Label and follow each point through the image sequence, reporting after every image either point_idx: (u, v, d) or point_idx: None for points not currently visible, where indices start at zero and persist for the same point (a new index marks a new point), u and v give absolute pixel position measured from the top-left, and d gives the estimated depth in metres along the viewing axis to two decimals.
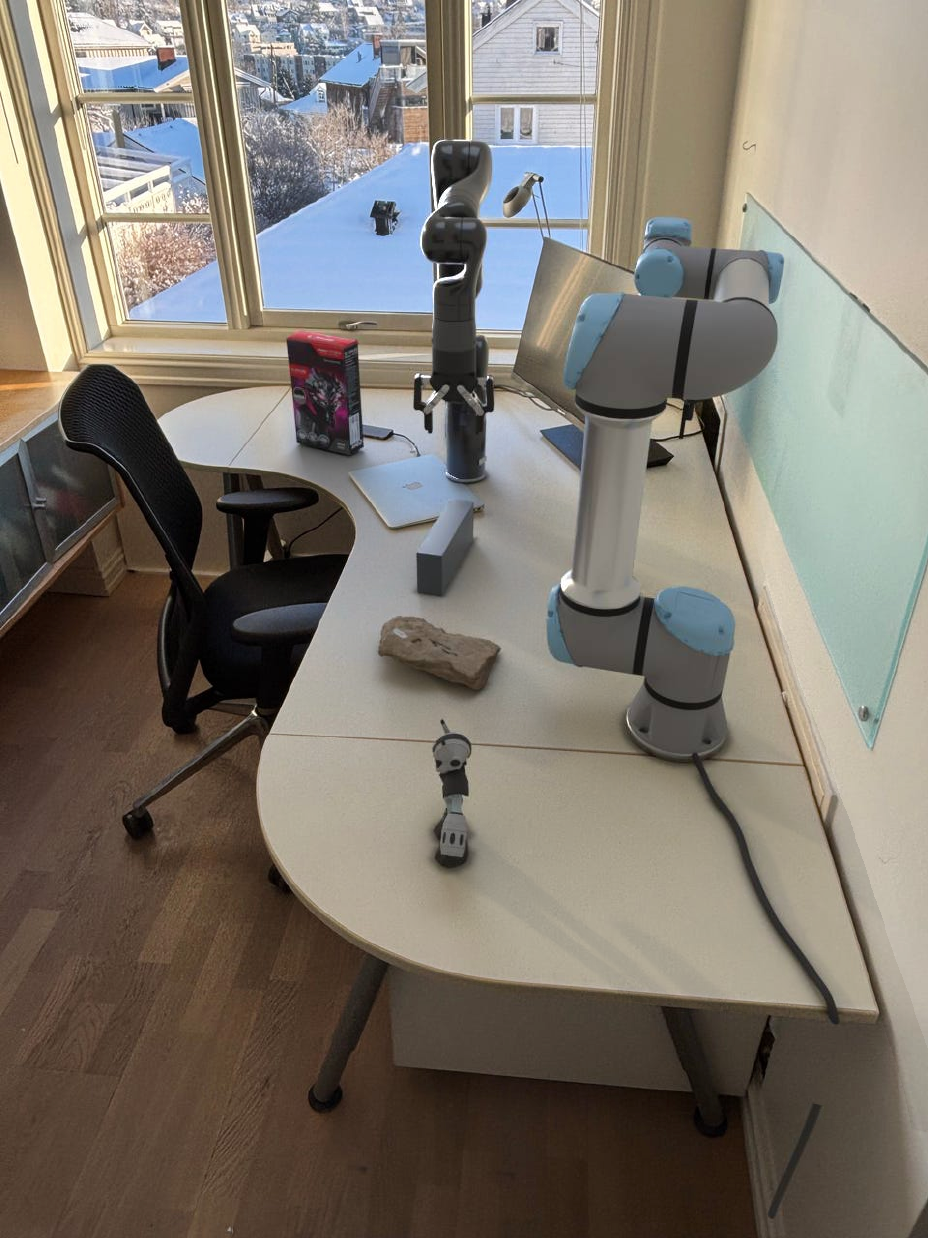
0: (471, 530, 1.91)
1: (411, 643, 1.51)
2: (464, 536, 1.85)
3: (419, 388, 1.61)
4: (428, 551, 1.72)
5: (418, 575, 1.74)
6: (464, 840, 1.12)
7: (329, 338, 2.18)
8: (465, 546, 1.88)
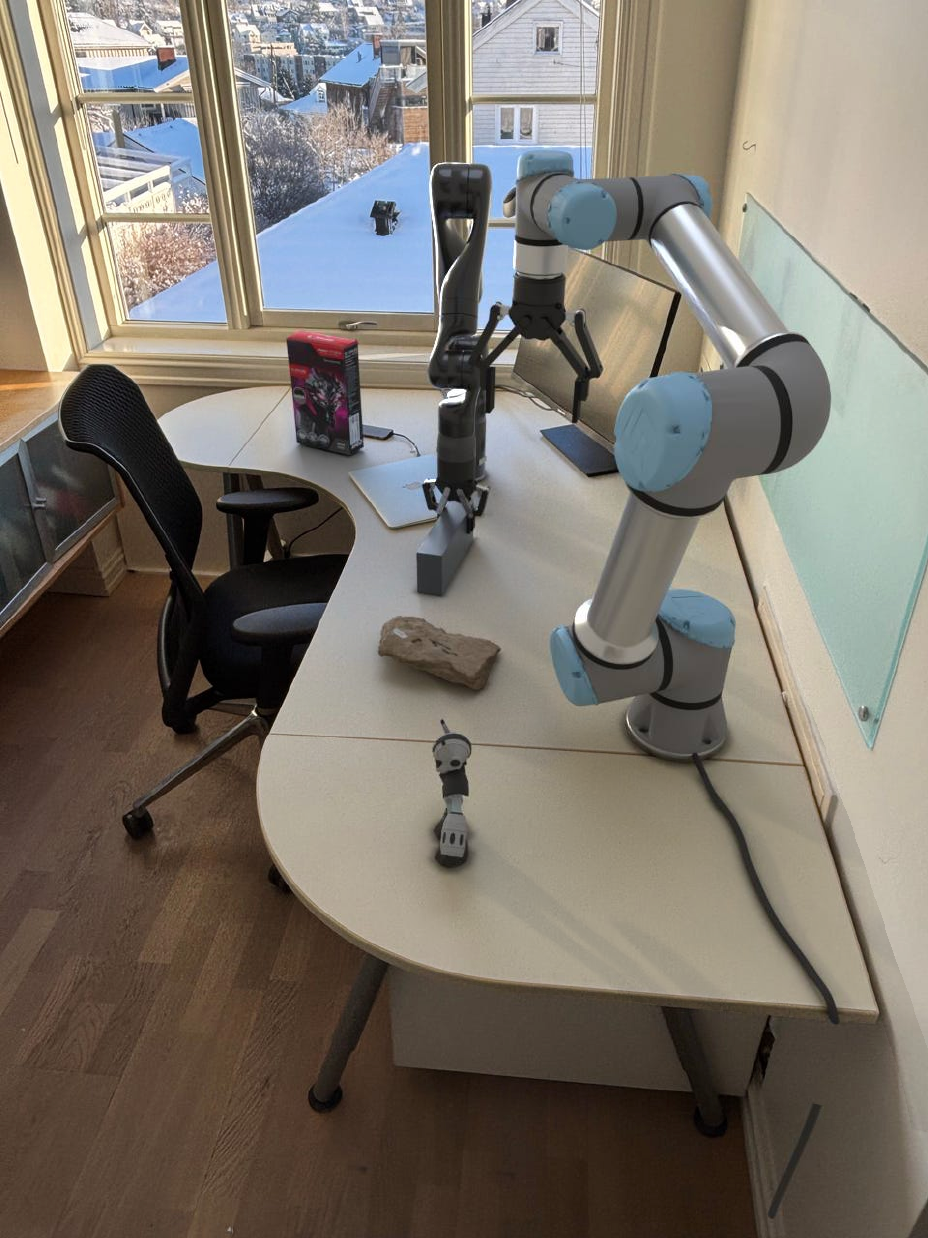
0: None
1: (411, 643, 1.51)
2: (464, 536, 1.85)
3: (428, 491, 1.84)
4: (428, 551, 1.72)
5: (418, 575, 1.74)
6: (464, 840, 1.12)
7: (329, 338, 2.18)
8: (465, 546, 1.88)
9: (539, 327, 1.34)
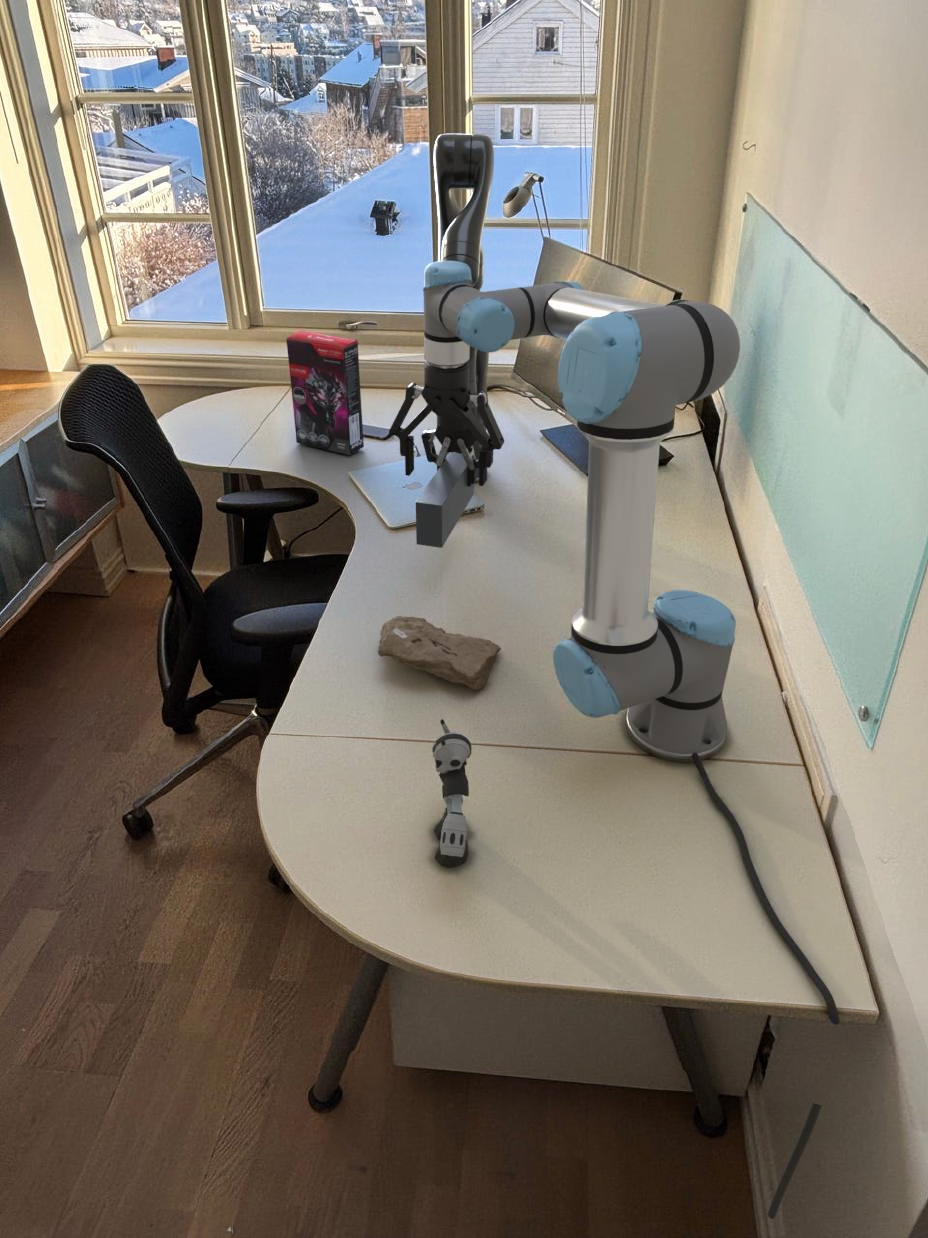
0: (472, 484, 1.85)
1: (411, 643, 1.51)
2: (465, 489, 1.80)
3: (427, 442, 1.78)
4: (428, 501, 1.66)
5: (417, 526, 1.68)
6: (464, 840, 1.12)
7: (329, 338, 2.18)
8: (466, 499, 1.82)
9: (448, 406, 1.56)
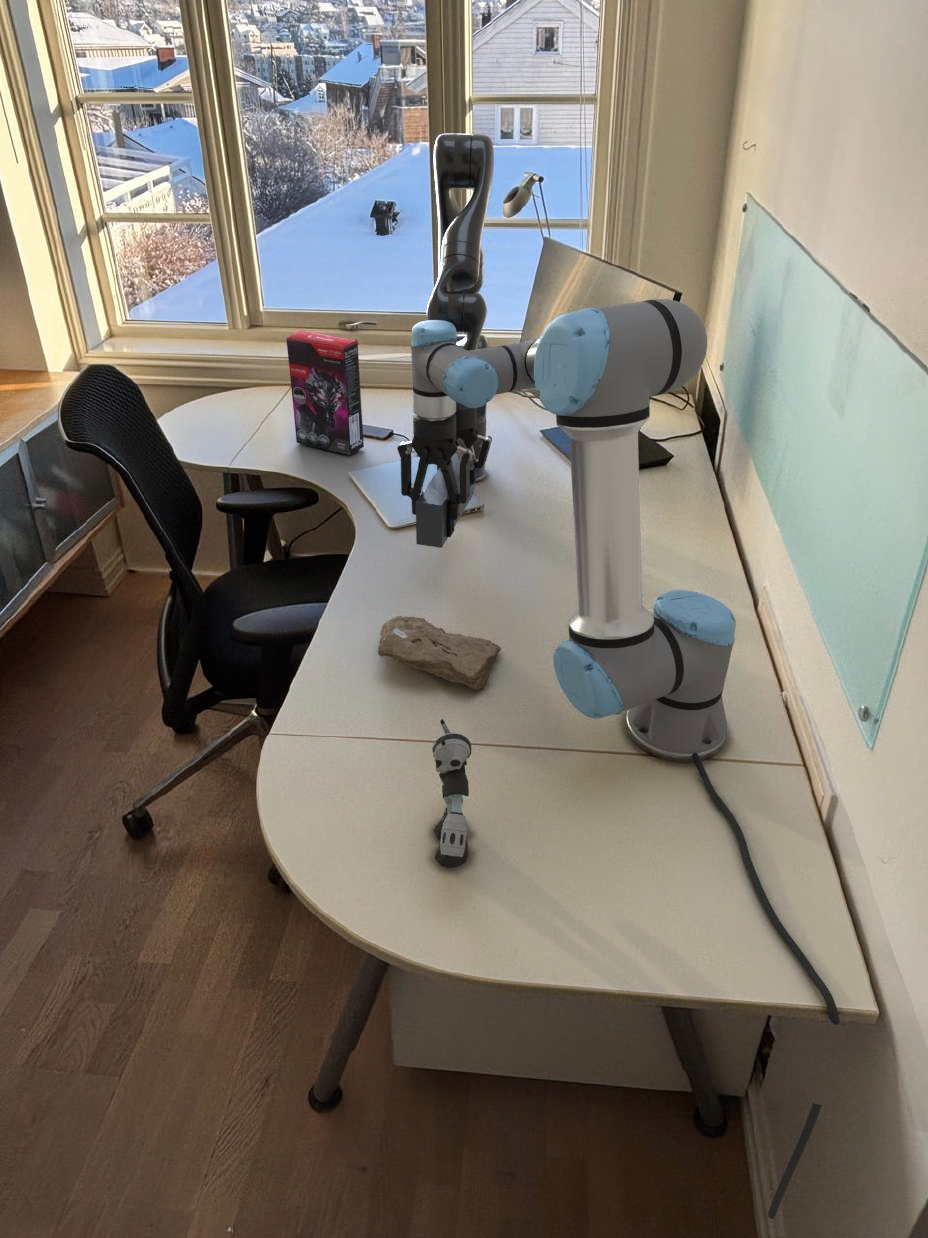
0: (472, 484, 1.85)
1: (411, 643, 1.51)
2: None
3: None
4: (428, 500, 1.66)
5: (417, 526, 1.68)
6: (464, 840, 1.12)
7: (329, 338, 2.18)
8: None
9: None
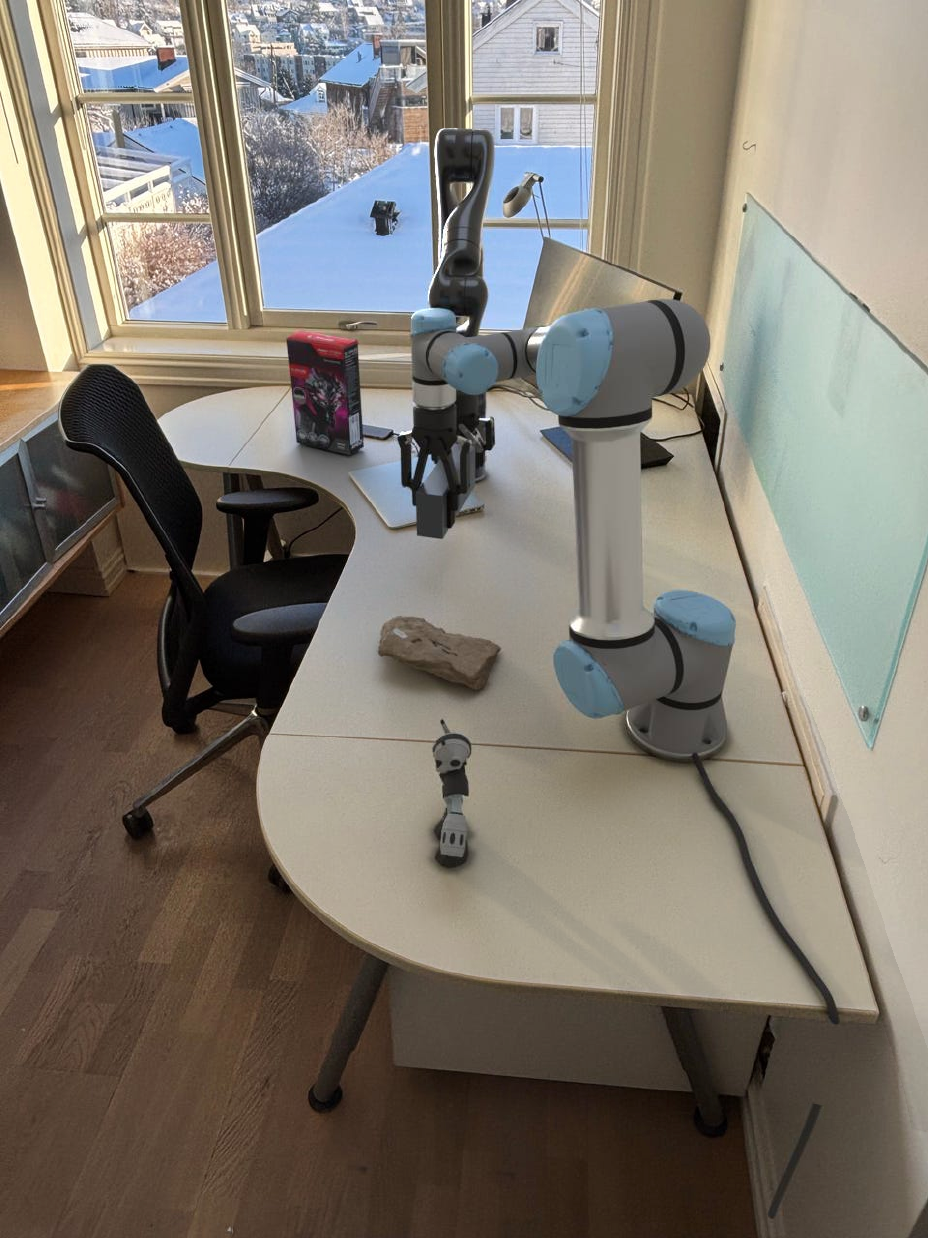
0: (472, 476, 1.84)
1: (411, 643, 1.51)
2: None
3: None
4: (428, 491, 1.65)
5: (418, 517, 1.67)
6: (464, 840, 1.12)
7: (329, 338, 2.18)
8: None
9: (436, 445, 1.62)
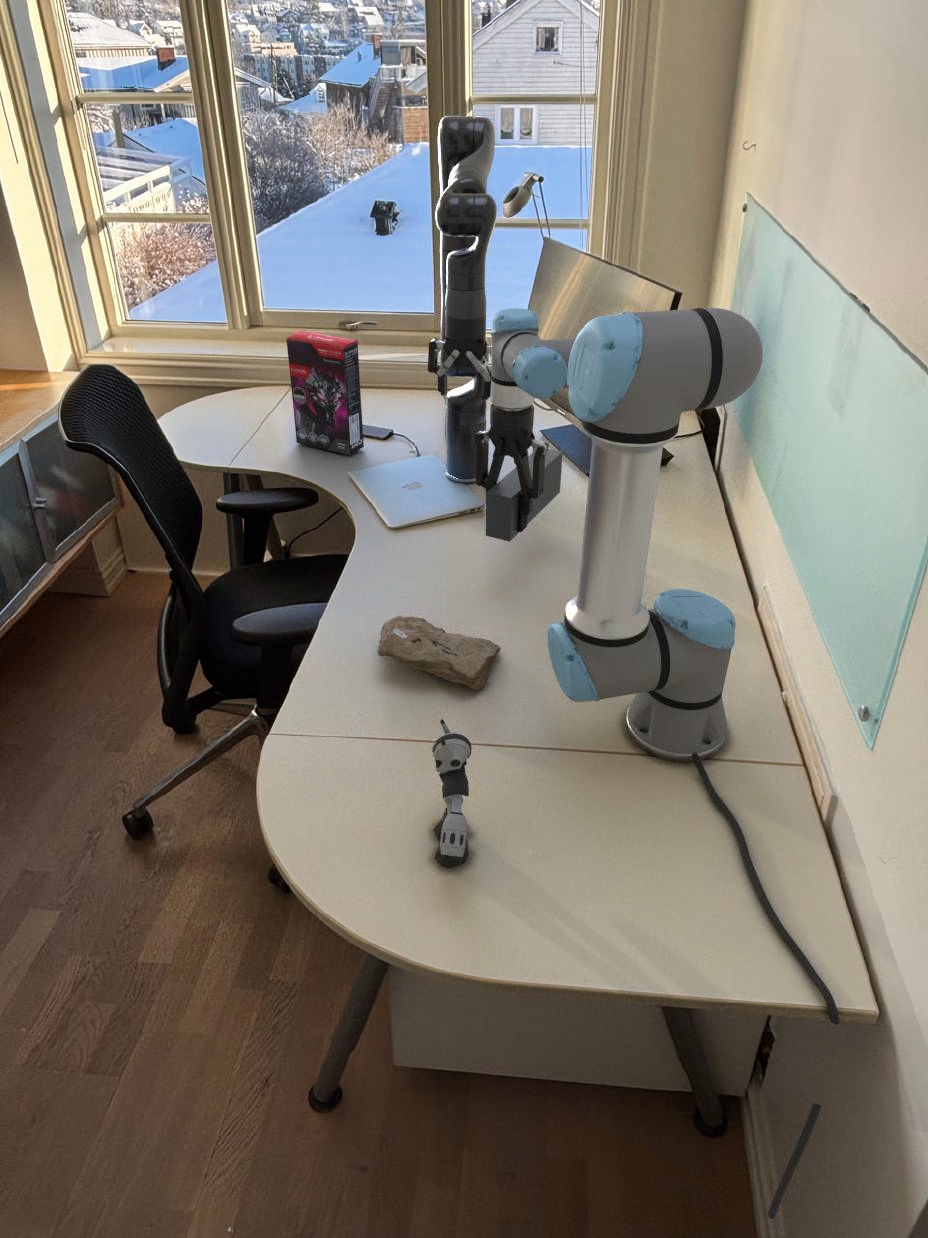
0: (557, 482, 1.81)
1: (411, 643, 1.51)
2: (546, 485, 1.76)
3: (433, 352, 1.74)
4: (499, 492, 1.63)
5: (487, 517, 1.66)
6: (464, 840, 1.12)
7: (329, 338, 2.18)
8: (547, 497, 1.78)
9: None
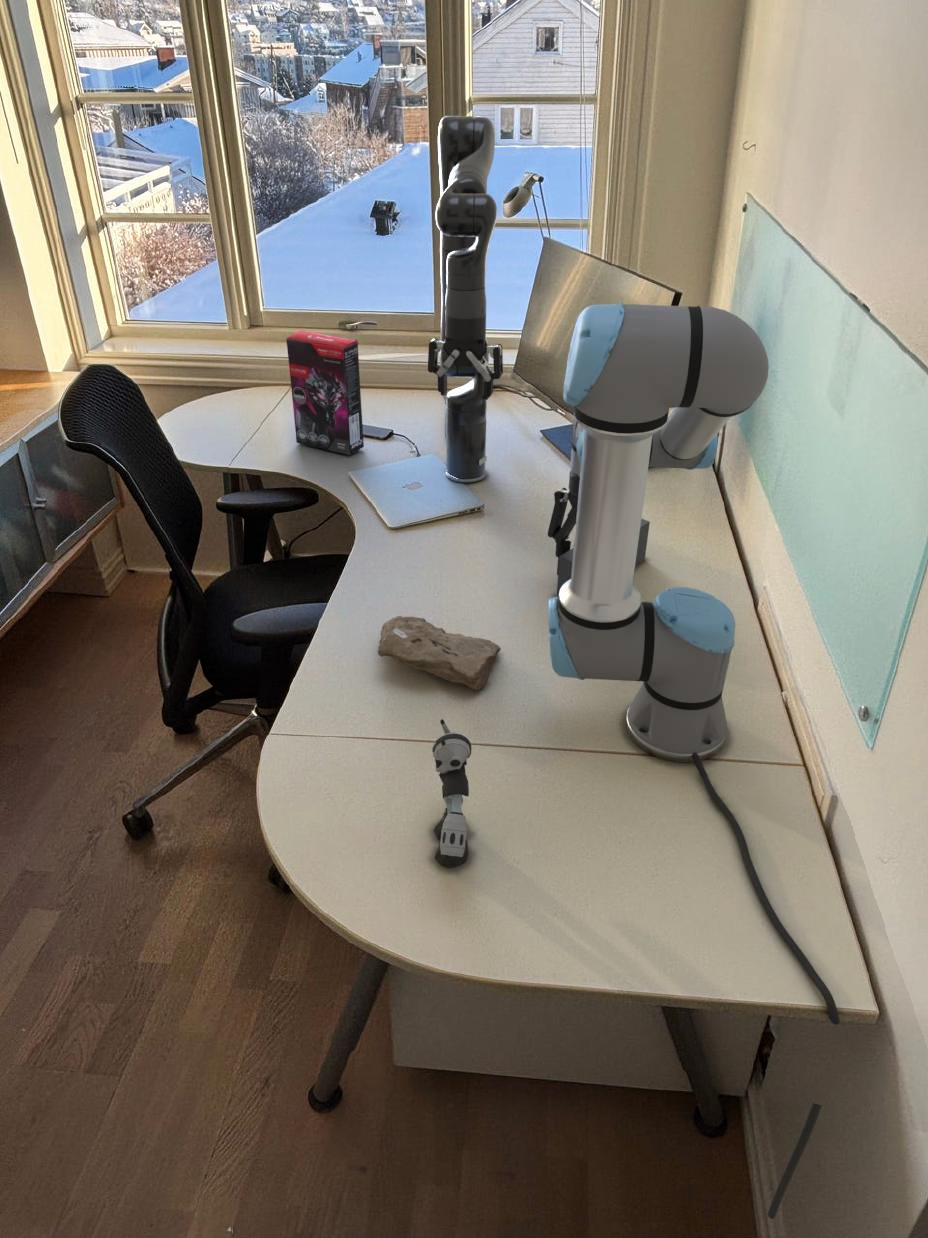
0: (642, 550, 1.84)
1: (411, 643, 1.51)
2: None
3: (433, 352, 1.74)
4: (571, 558, 1.70)
5: (559, 579, 1.73)
6: (464, 840, 1.12)
7: (329, 338, 2.18)
8: None
9: None
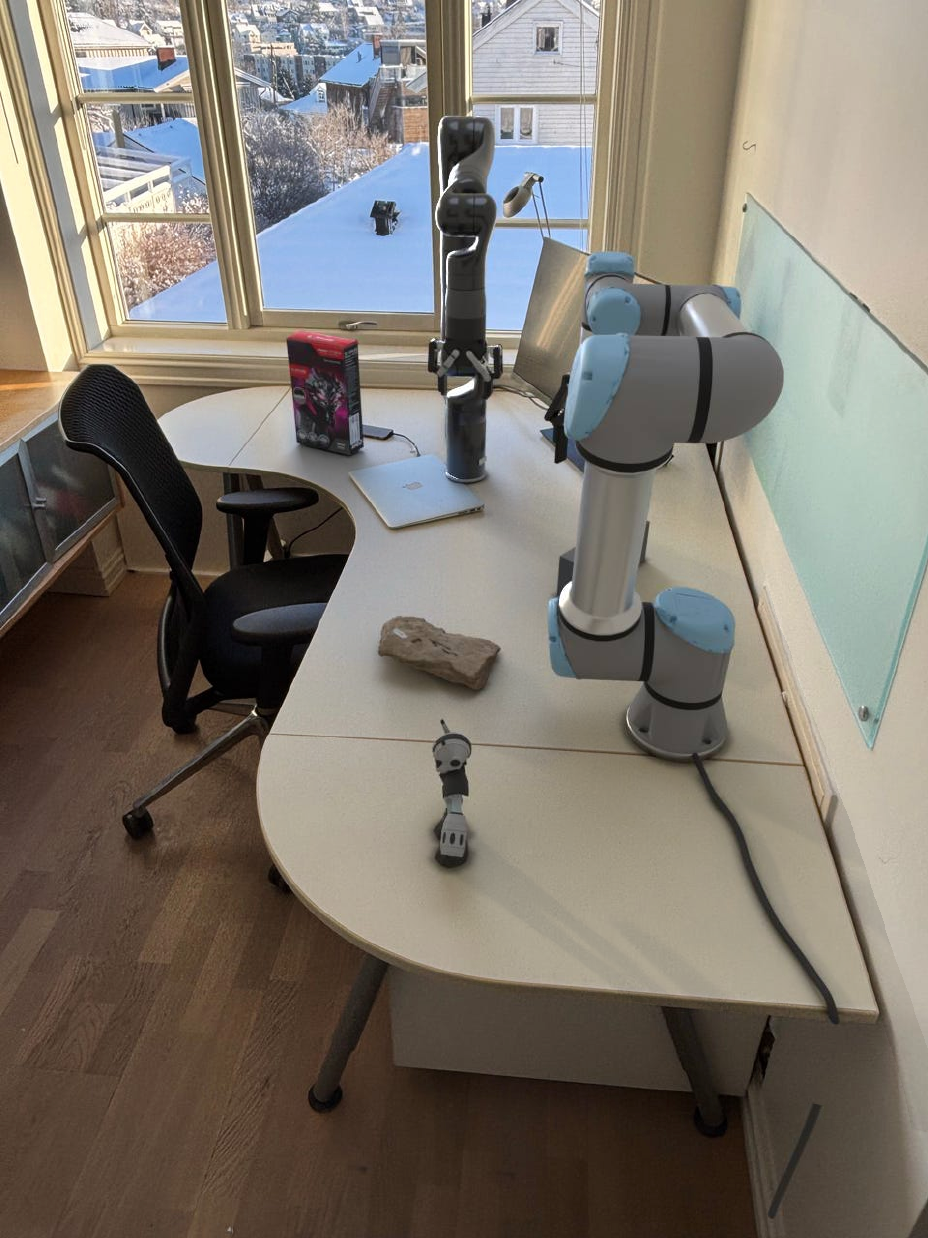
0: (642, 550, 1.84)
1: (411, 643, 1.51)
2: None
3: (433, 352, 1.74)
4: (571, 558, 1.70)
5: (559, 579, 1.73)
6: (464, 840, 1.12)
7: (329, 338, 2.18)
8: None
9: None
